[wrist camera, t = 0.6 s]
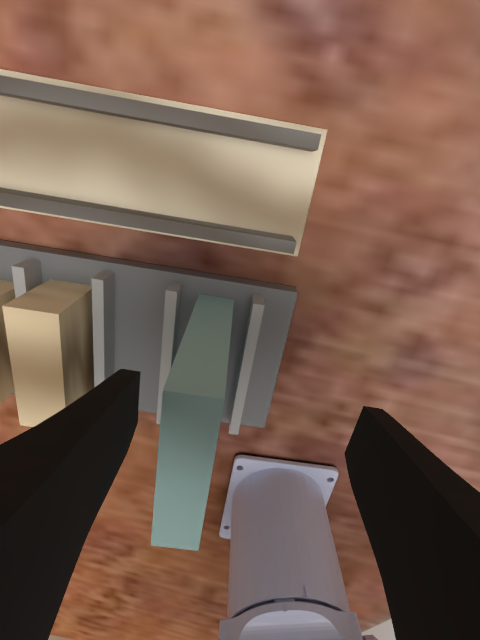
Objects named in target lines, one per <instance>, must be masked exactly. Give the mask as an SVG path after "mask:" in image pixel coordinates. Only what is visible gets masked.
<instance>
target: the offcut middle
mask: <svg viewBox="0 0 480 640" xmlns="http://www.w3.org/2000/svg"><path fill="white" fill-rule="evenodd" d="M2 308H3V315H4V322H5V328H6V335H7V342H8V348H9V355H10V362H11V368H12V375H13V382H14V388H15V395H16V402H17V408H18V415H19V422H20V425H23V426H30V427H34V426H36V425H38V424H40V423H41V422H43V421H44V420H46V419H48V418H49V417H51V416H52V415H54V414H56V413H57V412H59V411H61V410H62V409H64V408H65V407H67V406H68V405H70V404H71V403H73V402H74V401H76V400H77V399H78V398H80V397H81V396H83V395H84V394H86V393H87V392H89V391H90V390H91V389H93V388H94V353H93V317H92V286H91V285H85V284H78V283H72V282H65V281H59V280H52V279H49V280H48V281H46V282H44V283H42V284H41V285H39V286H37V287H35V288H33V289H32V290H30V291H28V292H26V293H24V294H23V295H21V296H19V297H17V298H15V299H14V300H12V301H10V302H8V303H6V304H5V305H3V306H2Z"/></svg>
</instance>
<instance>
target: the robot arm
mask: <svg viewBox="0 0 480 640" xmlns="http://www.w3.org/2000/svg"><path fill="white" fill-rule="evenodd" d="M140 373H141V372H140V371H134V370H127V369H120V370H118V371H117V372H115V373H114V374H112V375H111V376H110V377H108V378H107V379H105V380H104V381H103V382H101V383H100V384H98V385H97V386H96V387H94V388H93V389H91V390H90V391H89V392H87V393H86V394H84V395H83V396H81V397H80V398H78V399H77V400H76V401H74V402H73V403H71V404H70V405H68V406H67V407H65V408H64V409H62V410H61V411H59V412H57V413H56V414H54V415H52V416H51V417H49V418H48V419H46V420H44V421H43V422H41V423H40V424H38V425H36V426H34V427H33V428H31V429H29V430H27V431H25V432H24V433H22V434H20V435H18V436H16V437H14V438H12V439H10V440H8V441H7V442H5V443H3V444H1V445H0V640H48V638H49V635H50V632H51V630H52V627H53V624H54V621H55V619H56V616H57V613H58V611H59V608H60V605H61V602H62V600H63V597H64V594H65V592H66V589H67V586H68V584H69V581H70V578H71V576H72V573H73V571H74V568H75V565H76V563H77V560H78V558H79V555H80V552H81V550H82V547H83V545H84V542H85V540H86V537H87V535H88V533H89V531H90V528H91V526H92V524H93V522H94V520H95V518H96V516H97V514H98V511H99V509H100V507H101V505H102V503H103V501H104V499H105V497H106V495H107V493H108V491H109V489H110V487H111V485H112V483H113V481H114V479H115V477H116V475H117V473H118V471H119V468H120V466H121V464H122V462H123V460H124V458H125V456H126V454H127V451H128V449H129V446H130V443H131V440H132V437H133V435H134V432H135V429H136V426H137V423H138V407H139V390H140ZM345 458H346V463H347V469H348V474H349V478H350V483H351V486H352V490H353V493H354V496H355V499H356V502H357V505H358V508H359V511H360V514H361V517H362V520H363V523H364V526H365V529H366V531H367V534H368V537H369V540H370V543H371V546H372V549H373V552H374V555H375V558H376V561H377V564H378V568H379V571H380V574H381V578H382V582H383V586H384V590H385V594H386V598H387V602H388V606H389V610H390V615H391V619H392V623H393V628H394V632H395V637H396V640H480V492H478V491H477V490H476V489H475V488H473V487H472V486H471V485H470V484H469V483H467V482H466V481H465V480H464V479H462V478H461V477H460V476H459V475H458V474H456V473H455V472H454V471H453V470H452V469H450V468H449V467H448V466H447V465H446V464H445V463H443V462H442V461H441V460H440V459H439V458H438V457H436V456H435V455H434V454H433V453H432V452H431V451H430V450H429V449H427V448H426V447H425V446H424V445H423V444H422V443H421V442H420V441H418V440H417V439H416V438H415V437H414V436H413V435H412V434H411V433H410V432H408V431H407V430H406V429H405V428H404V427H403V426H402V425H401V424H400V423H398V422H397V421H396V420H395V419H394V418H393V417H391V416H390V415H389V414H388V413H387V412H385V411H384V410H383V409H379V408H373V407H366V406H364V407H363V409H362V411H361V414H360V416H359V419H358V421H357V424H356V426H355V429H354V431H353V434H352V436H351V439H350V441H349V443H348V446H347V448H346V451H345ZM330 477H331V478H330ZM337 478H338V470H337V469H336V468H335V467H331V466H323V465H316V464H308V463H301V462H293V461H285V460H278V459H270V458H263V457H255V456H247V455H237V456H236V457H235V459H234V463H233V468H232V473H231V478H230V482H229V487H228V492H227V497H226V502H225V506H224V511H223V516H222V521H221V525H220V530H219V535H220V537H222V538H225V539H230V563H229V587H228V611H227V619H224V620H221V621H220V624H219V640H377V639H376V638H375V637H374V636H373V635H364V636H362V635H361V630H360V626H359V622H358V618H357V614H356V613H355V612H350V608H349V604H348V599H347V595H346V591H345V587H344V583H343V578H342V574H341V570H340V566H339V561H338V557H337V553H336V549H335V545H334V540H333V536H332V532H331V528H330V523H329V519H328V515H327V511H326V505H327V503H328V500H329V498H330V495H331V493H332V490H333V488H334V485H335V483H336V480H337Z"/></svg>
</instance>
